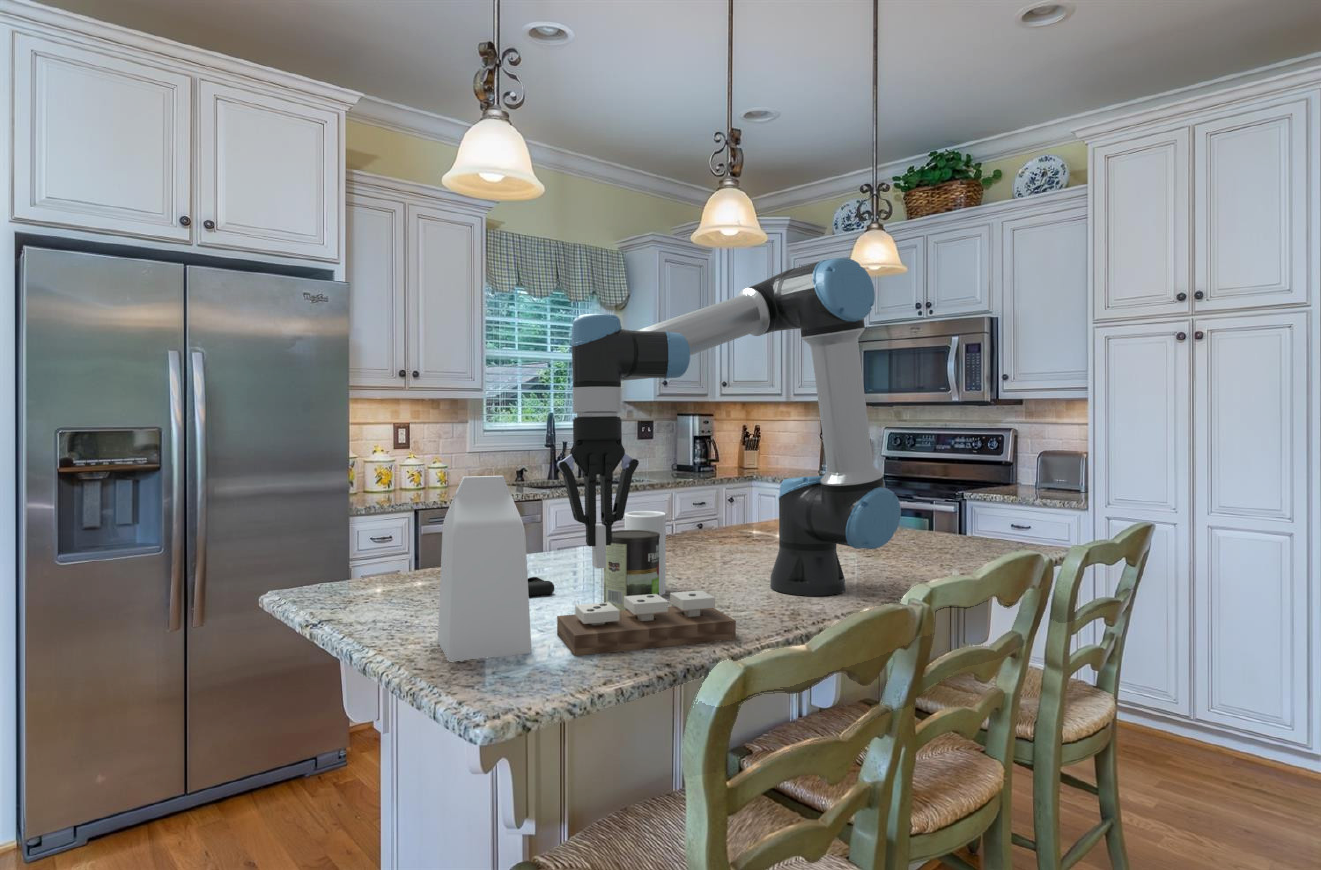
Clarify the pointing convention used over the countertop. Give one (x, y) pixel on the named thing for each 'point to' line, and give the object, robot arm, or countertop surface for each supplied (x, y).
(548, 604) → the countertop surface
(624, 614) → the button panel
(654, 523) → the cup
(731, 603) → the countertop surface
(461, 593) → the milk
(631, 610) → the button
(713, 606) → the button
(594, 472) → the robot arm
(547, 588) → the door handle
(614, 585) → the coffee can
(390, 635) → the countertop surface
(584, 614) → the button
